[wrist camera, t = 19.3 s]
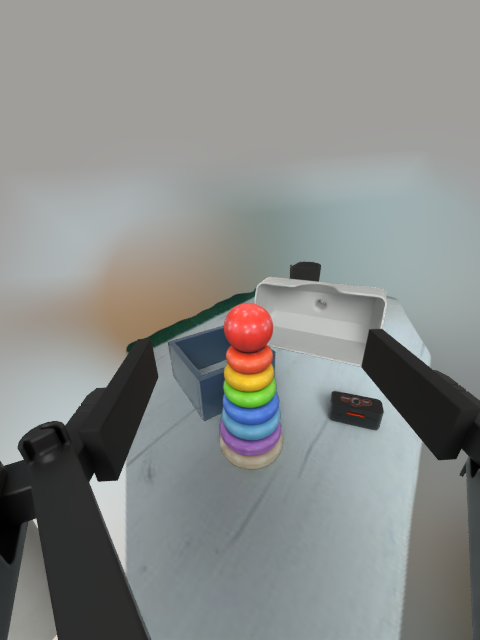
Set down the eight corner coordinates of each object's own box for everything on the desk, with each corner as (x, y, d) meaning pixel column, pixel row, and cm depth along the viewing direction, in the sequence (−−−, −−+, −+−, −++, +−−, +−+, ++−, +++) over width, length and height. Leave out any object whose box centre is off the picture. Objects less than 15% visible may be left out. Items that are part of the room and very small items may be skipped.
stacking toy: (295, 441, 32) (307, 304, 25) (254, 488, 27) (253, 333, 19) (248, 410, 37) (246, 288, 30) (207, 445, 32) (191, 308, 24)
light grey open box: (376, 332, 59) (388, 279, 53) (373, 369, 46) (388, 305, 40) (274, 315, 69) (275, 269, 64) (248, 341, 56) (248, 287, 51)
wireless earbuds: (386, 434, 33) (391, 416, 32) (328, 421, 35) (331, 403, 34) (381, 409, 37) (385, 392, 36) (329, 399, 39) (331, 382, 38)
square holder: (173, 375, 46) (167, 341, 43) (233, 353, 52) (232, 322, 49) (204, 421, 36) (199, 381, 33) (274, 387, 42) (275, 351, 39)
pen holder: (322, 299, 80) (325, 267, 75) (292, 300, 79) (294, 268, 75) (312, 290, 88) (315, 261, 84) (285, 291, 88) (287, 262, 84)
